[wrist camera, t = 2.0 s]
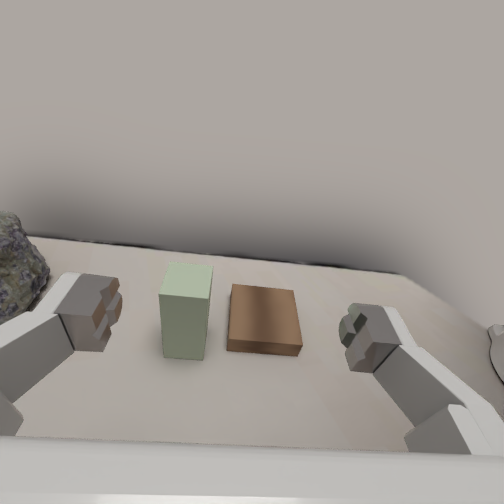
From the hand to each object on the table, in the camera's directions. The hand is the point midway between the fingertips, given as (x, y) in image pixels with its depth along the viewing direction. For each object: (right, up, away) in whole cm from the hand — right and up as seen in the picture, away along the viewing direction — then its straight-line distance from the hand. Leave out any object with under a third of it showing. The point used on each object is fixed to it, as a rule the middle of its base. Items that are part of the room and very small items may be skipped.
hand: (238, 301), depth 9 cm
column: (-8, -9, +24) cm, 26 cm away
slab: (+2, -8, +28) cm, 29 cm away
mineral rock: (-31, -4, +25) cm, 40 cm away
